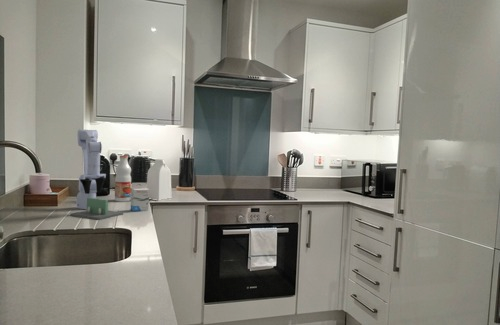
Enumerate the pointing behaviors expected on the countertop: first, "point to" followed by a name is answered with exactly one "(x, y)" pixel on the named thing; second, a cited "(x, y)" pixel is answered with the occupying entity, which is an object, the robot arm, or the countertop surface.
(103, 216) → the plate
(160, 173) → the milk
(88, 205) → the board
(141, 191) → the ink box
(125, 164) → the fruit juice
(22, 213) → the countertop surface
